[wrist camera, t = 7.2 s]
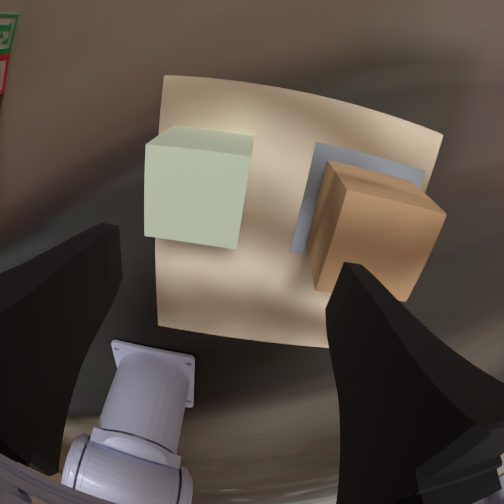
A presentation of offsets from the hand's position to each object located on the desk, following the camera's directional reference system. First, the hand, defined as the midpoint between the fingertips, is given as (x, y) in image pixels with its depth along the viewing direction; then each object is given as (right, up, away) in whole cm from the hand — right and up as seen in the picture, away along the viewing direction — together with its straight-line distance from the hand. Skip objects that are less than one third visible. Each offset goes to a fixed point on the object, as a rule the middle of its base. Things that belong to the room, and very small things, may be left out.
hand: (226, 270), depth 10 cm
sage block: (-2, +5, +7) cm, 9 cm away
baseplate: (+3, +2, +10) cm, 11 cm away
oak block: (+7, +3, +8) cm, 11 cm away
